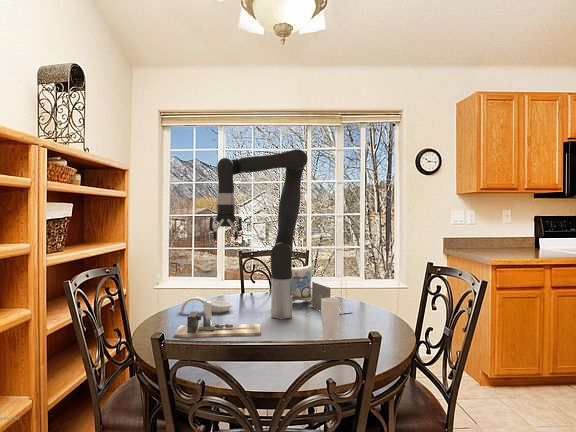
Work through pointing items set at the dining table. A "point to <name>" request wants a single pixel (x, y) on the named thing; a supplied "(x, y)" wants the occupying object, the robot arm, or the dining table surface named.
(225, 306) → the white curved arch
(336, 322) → the drinking glass
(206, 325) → the chain handle
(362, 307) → the dining table surface
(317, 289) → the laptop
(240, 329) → the tensioner rail
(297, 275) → the pouch
